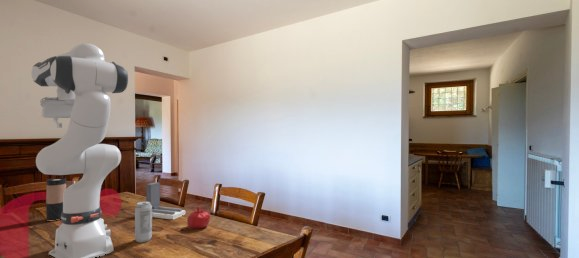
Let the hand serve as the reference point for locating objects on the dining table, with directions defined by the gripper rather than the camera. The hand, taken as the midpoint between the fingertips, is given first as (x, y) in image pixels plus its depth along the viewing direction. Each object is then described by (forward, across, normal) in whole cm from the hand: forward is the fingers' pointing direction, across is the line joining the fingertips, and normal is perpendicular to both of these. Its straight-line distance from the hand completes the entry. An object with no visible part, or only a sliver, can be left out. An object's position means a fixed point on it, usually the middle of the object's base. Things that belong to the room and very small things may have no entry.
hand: (72, 127), depth 126 cm
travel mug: (+44, -5, +22) cm, 49 cm away
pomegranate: (+54, +34, -41) cm, 75 cm away
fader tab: (+46, +29, -6) cm, 55 cm away
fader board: (+50, +32, -11) cm, 60 cm away
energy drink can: (+52, +11, -38) cm, 65 cm away
